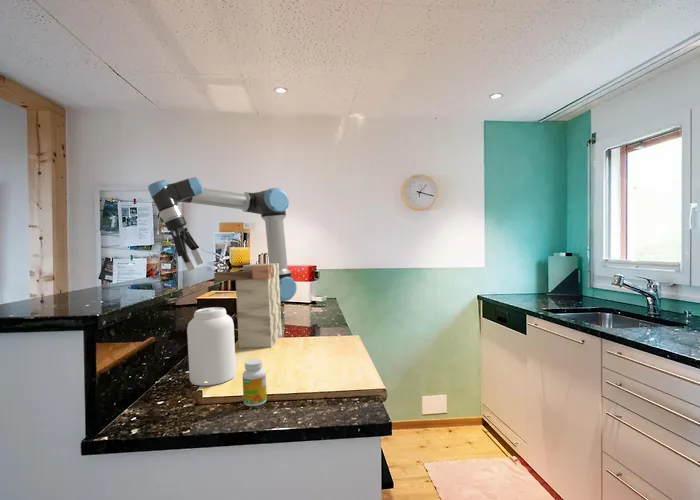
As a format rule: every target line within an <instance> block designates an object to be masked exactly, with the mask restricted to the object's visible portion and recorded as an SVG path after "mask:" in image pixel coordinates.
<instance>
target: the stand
mask: <svg viewBox="0 0 700 500" xmlns="http://www.w3.org/2000/svg"><path fill="white" fill-rule="evenodd" d="M256 265H272V271H273V278H271V279H260V280H253V279H251V280H235V290H236V291H235V293H236V313H237V314H236V315H237V332H238V333H237V335H238V336H237V337H238V349H264V348H265V349H266V348H267V349H269V348H272V347H273V346H274V345H275V344H276V343H277V342H278V341H279V339H280V338H281V337H282V336H283V331H282V329H283V328H282V319H281V309H282V307H281V301H280V284H279V263H272V264H269V263H256V264H253V263H251V264H244V265H242V271H252V266H256Z"/></svg>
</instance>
